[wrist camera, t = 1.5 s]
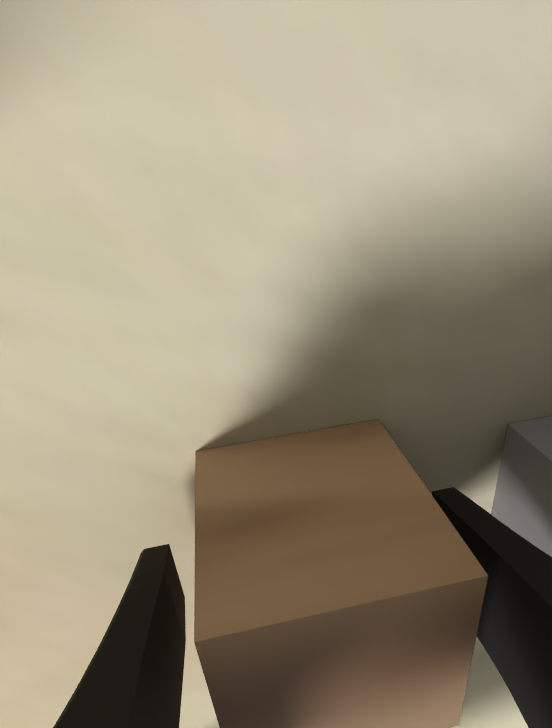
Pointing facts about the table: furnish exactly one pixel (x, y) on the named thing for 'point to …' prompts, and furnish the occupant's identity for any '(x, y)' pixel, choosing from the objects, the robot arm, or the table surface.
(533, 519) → the charcoal base block
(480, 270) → the table surface
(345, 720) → the walnut cube
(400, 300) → the table surface
